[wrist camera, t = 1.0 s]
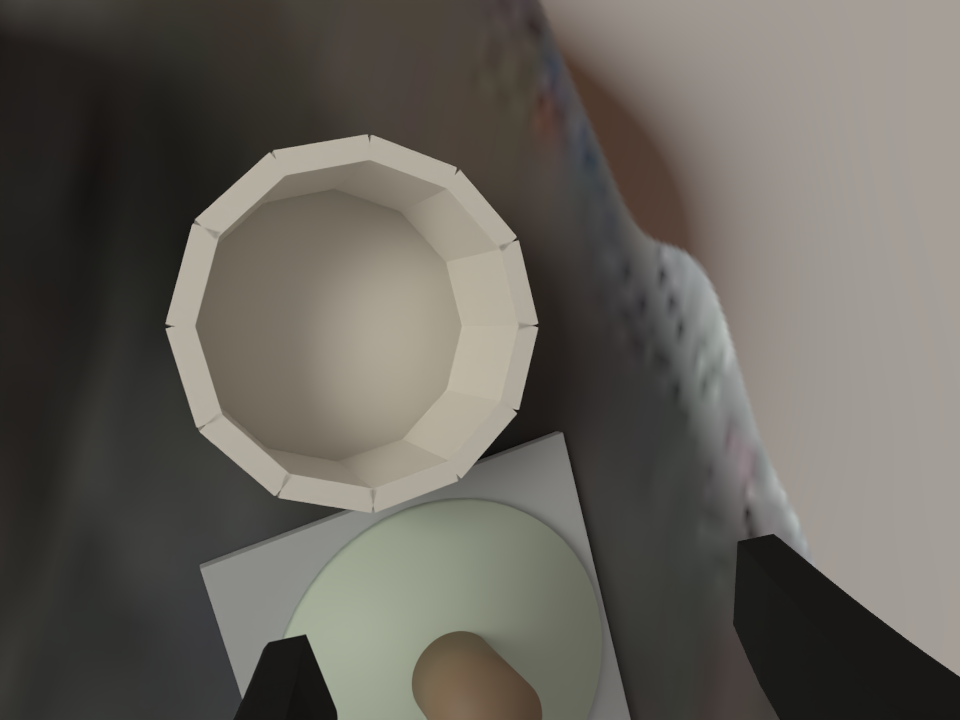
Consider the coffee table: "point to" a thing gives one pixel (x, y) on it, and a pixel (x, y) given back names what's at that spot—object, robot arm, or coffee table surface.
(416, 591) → the lid
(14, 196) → the coffee table surface
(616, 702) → the mat
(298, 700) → the robot arm
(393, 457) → the bowl
